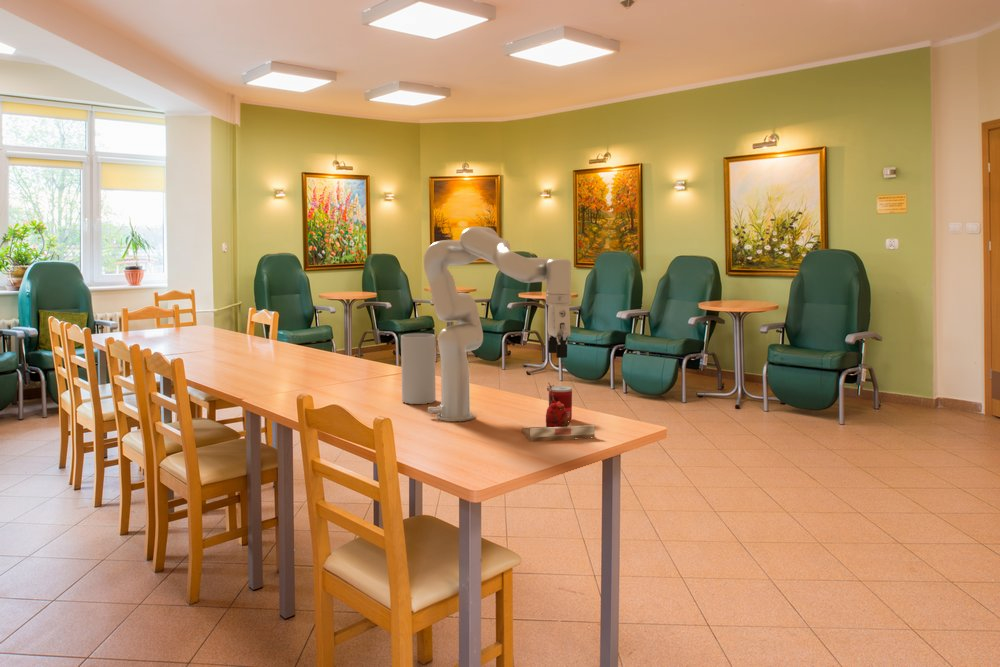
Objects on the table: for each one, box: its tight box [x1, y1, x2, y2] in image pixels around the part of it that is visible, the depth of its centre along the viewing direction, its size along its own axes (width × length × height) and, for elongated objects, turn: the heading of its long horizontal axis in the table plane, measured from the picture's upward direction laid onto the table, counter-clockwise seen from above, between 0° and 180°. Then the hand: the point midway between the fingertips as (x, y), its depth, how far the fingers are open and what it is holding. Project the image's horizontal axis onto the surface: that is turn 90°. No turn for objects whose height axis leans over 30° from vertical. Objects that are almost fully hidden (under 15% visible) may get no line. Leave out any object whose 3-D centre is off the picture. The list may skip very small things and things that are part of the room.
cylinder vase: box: [400, 332, 437, 405], centre depth 279 cm, size 12×12×25 cm
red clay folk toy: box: [545, 382, 570, 428], centre depth 232 cm, size 8×7×15 cm
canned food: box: [548, 385, 573, 422], centre depth 251 cm, size 8×8×11 cm
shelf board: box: [521, 424, 596, 442], centre depth 232 cm, size 20×12×4 cm, turn 101°
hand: (557, 355), depth 230 cm, fingers open, 9 cm apart
